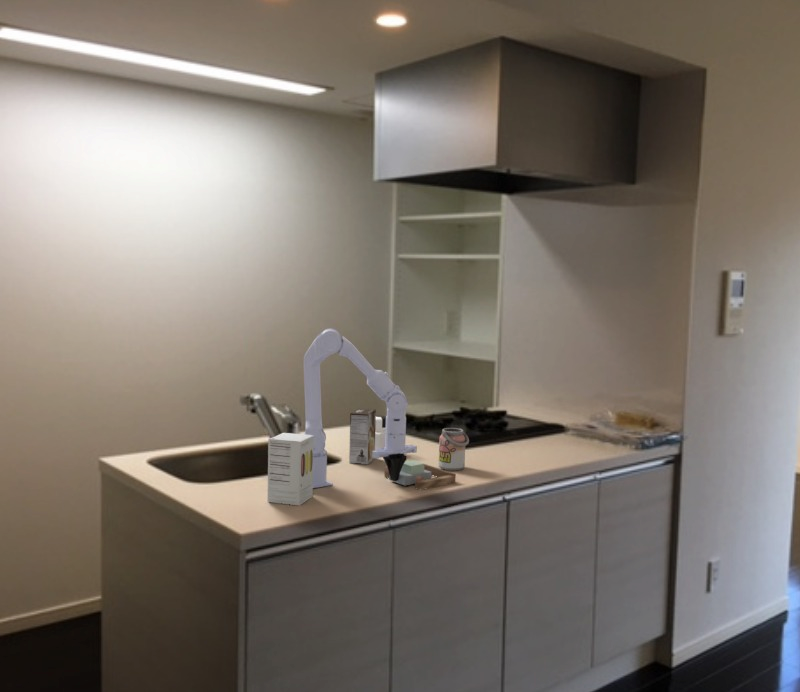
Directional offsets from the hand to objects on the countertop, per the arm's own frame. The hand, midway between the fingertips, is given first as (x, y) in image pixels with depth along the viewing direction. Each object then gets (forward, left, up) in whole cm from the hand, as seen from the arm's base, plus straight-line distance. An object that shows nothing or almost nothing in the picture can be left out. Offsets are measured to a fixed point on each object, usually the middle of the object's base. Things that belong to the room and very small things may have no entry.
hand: (394, 480), depth 227 cm
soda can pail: (+27, +5, -2) cm, 28 cm away
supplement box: (-32, +4, -2) cm, 32 cm away
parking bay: (+9, 0, -1) cm, 9 cm away
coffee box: (+9, +28, -2) cm, 30 cm away
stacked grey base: (+6, 0, -1) cm, 6 cm away
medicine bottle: (+21, +35, -2) cm, 41 cm away
